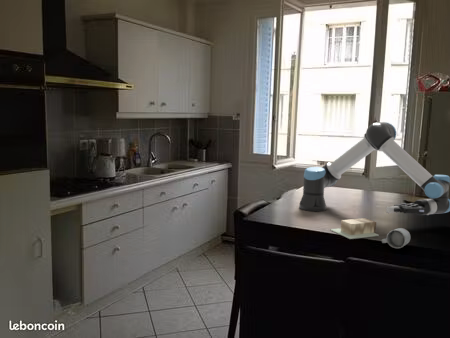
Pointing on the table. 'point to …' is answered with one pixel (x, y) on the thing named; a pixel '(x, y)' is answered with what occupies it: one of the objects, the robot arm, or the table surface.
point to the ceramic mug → (397, 238)
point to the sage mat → (353, 235)
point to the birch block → (358, 226)
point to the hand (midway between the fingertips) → (387, 209)
